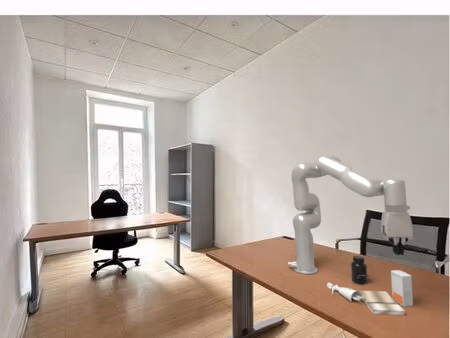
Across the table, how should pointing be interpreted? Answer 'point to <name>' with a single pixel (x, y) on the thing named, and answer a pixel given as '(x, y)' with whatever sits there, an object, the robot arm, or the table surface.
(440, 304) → the table surface
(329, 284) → the woman figurine
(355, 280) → the supplement bottle
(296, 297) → the table surface
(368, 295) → the beige flat panel
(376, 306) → the laid board
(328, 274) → the table surface
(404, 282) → the skincare box
